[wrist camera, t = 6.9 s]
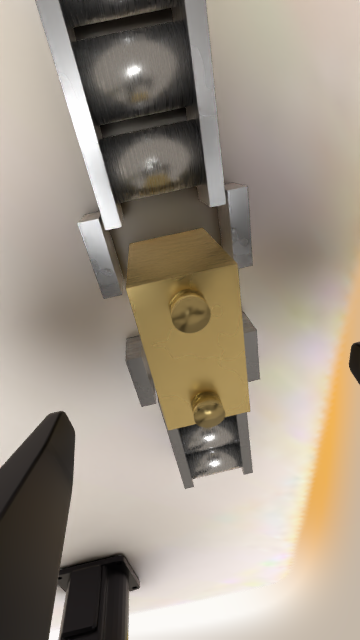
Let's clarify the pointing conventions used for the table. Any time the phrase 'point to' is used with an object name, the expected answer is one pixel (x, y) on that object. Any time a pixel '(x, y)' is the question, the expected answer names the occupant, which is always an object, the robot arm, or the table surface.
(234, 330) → the link
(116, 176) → the chain end
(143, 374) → the chain end
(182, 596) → the table surface
